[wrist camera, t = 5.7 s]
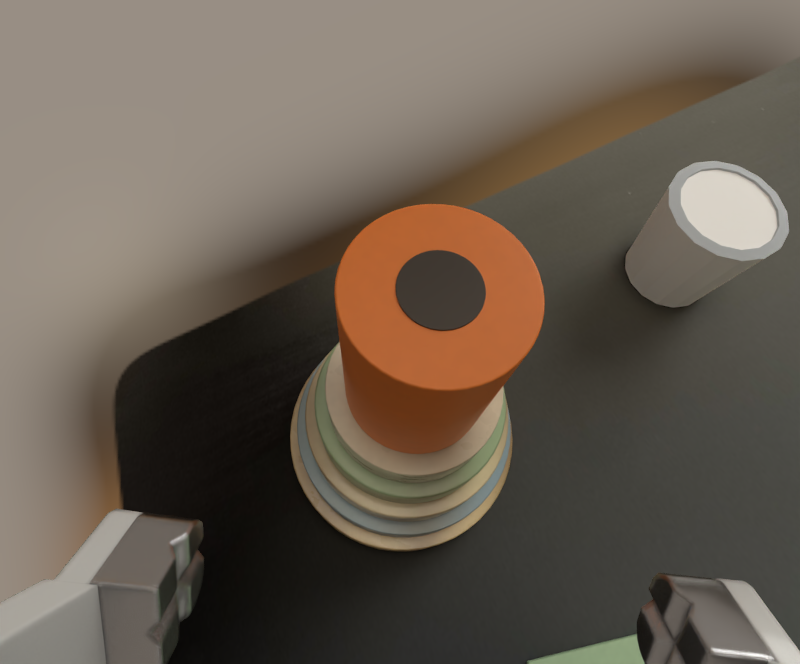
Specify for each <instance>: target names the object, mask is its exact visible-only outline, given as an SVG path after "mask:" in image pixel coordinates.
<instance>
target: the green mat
mask: <svg viewBox="0 0 800 664" xmlns="http://www.w3.org/2000/svg"><path fill="white" fill-rule="evenodd" d="M527 664H645V663H644V661H643V658H642V656H641V653H640V650H639V645H638V641H637V634H634V635H630V636H626V637H622V638H618V639H614V640H610V641H605V642H601V643H597V644H593V645H589V646H585V647H581V648H577V649H573V650H569V651H565V652H561V653H557V654H553V655H549V656H545V657H541V658H537V659H533V660H529V661H527Z"/></svg>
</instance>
